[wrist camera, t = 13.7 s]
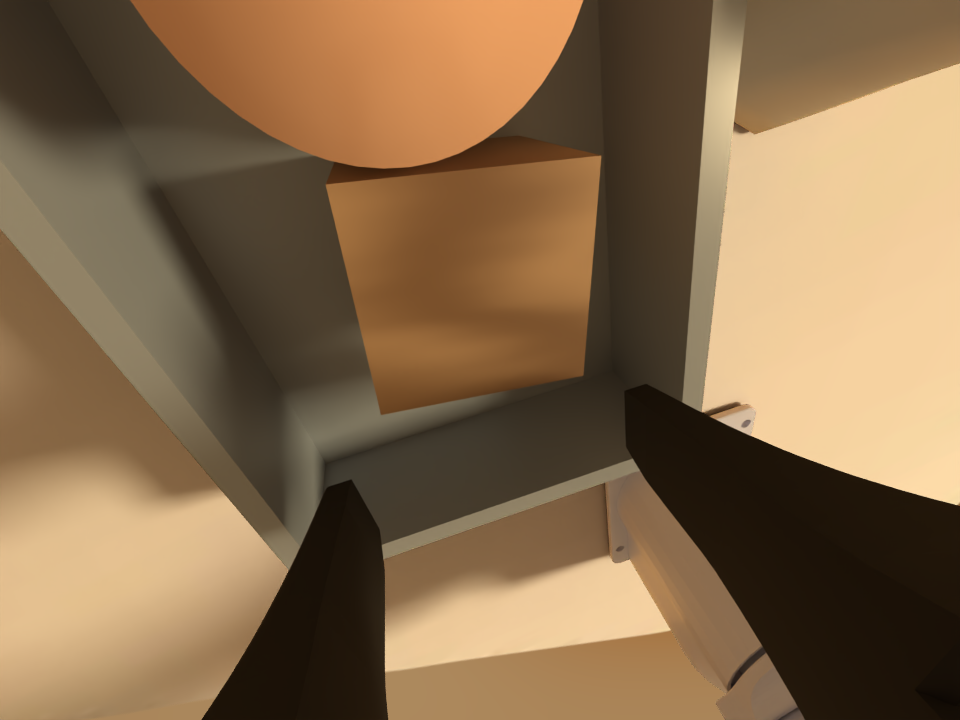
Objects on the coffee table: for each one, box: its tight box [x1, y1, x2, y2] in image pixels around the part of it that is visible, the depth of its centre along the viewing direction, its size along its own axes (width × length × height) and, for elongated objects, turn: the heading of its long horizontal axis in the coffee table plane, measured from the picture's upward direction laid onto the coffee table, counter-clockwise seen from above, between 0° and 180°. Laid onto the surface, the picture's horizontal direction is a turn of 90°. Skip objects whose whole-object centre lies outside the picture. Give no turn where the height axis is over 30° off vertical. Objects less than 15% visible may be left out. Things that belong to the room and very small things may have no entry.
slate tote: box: [0, 0, 748, 570], centre depth 11 cm, size 17×13×5 cm
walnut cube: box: [326, 136, 601, 415], centre depth 11 cm, size 5×5×5 cm
